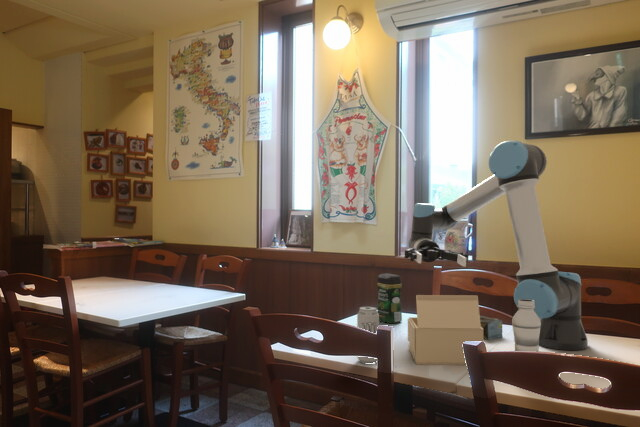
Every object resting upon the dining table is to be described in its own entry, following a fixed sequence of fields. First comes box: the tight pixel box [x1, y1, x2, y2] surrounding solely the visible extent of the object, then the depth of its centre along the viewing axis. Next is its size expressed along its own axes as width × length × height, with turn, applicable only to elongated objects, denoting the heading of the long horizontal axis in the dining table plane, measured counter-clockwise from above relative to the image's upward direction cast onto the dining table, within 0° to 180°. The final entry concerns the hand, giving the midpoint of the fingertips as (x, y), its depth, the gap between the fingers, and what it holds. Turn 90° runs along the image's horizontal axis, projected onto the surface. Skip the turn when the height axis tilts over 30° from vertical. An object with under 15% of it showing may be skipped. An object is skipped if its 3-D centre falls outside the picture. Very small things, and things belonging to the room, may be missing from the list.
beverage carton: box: [480, 315, 503, 341], centre depth 168 cm, size 8×19×7 cm, turn 33°
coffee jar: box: [376, 272, 403, 324], centre depth 187 cm, size 10×8×19 cm
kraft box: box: [407, 317, 484, 366], centre depth 138 cm, size 19×14×10 cm
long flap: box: [415, 294, 481, 329], centre depth 133 cm, size 17×9×1 cm
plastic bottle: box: [511, 299, 541, 353], centre depth 118 cm, size 6×7×20 cm
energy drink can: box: [356, 306, 380, 364], centre depth 134 cm, size 6×6×15 cm
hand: (442, 260), depth 145 cm, fingers open, 13 cm apart
